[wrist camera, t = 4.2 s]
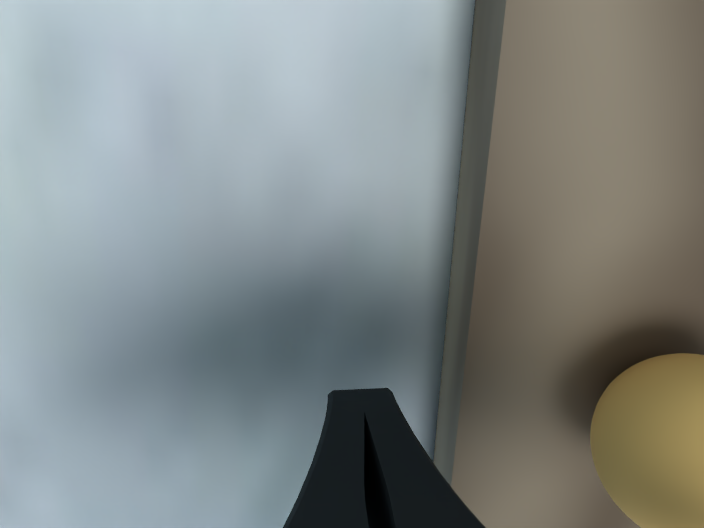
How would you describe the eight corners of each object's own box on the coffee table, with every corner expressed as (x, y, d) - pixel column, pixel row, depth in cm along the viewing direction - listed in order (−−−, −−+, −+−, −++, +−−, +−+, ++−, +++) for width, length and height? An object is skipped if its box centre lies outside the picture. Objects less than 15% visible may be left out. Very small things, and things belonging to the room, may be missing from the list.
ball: (550, 451, 15) (625, 604, 11) (578, 320, 13) (679, 455, 9) (699, 443, 15) (818, 591, 12) (748, 314, 13) (908, 443, 10)
